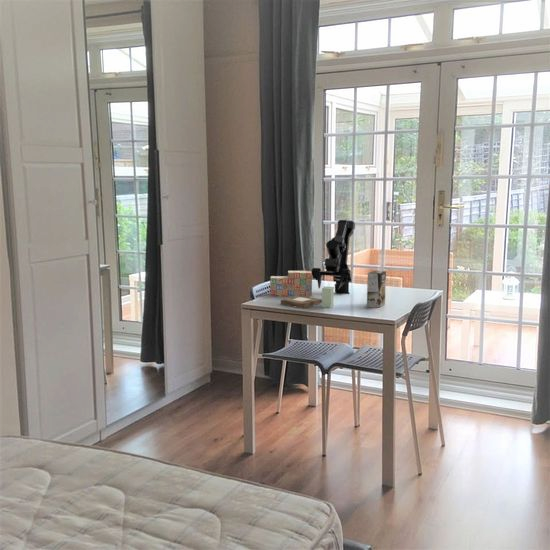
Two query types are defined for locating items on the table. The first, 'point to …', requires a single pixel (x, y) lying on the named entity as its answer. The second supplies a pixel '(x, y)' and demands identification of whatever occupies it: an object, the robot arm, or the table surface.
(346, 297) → the table surface
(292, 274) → the stack of blocks
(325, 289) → the pillar block
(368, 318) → the table surface
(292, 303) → the base board
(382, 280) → the coffee box
